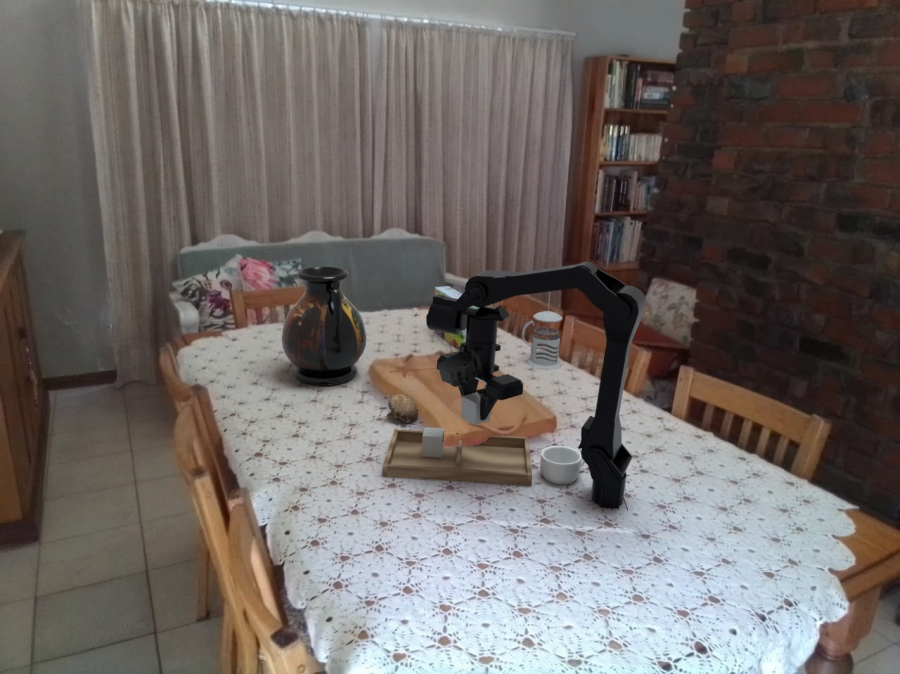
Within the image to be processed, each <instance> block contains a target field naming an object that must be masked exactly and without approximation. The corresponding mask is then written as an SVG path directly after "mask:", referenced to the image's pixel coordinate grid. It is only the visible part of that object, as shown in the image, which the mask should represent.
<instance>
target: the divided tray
mask: <svg viewBox="0 0 900 674" xmlns="http://www.w3.org/2000/svg"><path fill="white" fill-rule="evenodd" d="M423 432H424V430H411V429H398V428H397V429H395V428H394V430H393V434H392V436H391V440H390V442H389V445H388V449H387V451H386V455H385V458H384V461H383V463H382V477H383V478H395V479H396V478H398V479H399V478H400V479H411V480H412V479H413V480H427V481H428V480H429V481H444V482H445V481H446V482H458V483H459V482H463V483H477V484H478V483H479V484H493V485H506V486H507V485H509V486H524V487H525V486H526V487H527V486H528V487H532V486H533V467H532V459H531V449H530V447H531V446H530V439H529V437H528V436H513V435H500V436H490V437H489V438H488V439H487V440H486V441H485V442H482V443H481V444H479V445H473V446H462V440H458V447H453V448H444V447H443V454H442V458H441V457H425V456H422V436H423Z"/></svg>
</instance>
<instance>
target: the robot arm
mask: <svg viewBox="0 0 900 674" xmlns="http://www.w3.org/2000/svg"><path fill="white" fill-rule="evenodd" d="M574 289H577V290H579V291H580V292H581V293H582V294H584V296H585V297H586V298H587V299H588V300H589V301H590V302H591V304H592V305H593V306H594V307H596V308H597V309H599V311H601V312H602V313H603V314H602V315H603V316H602V317H603V331H604V335H605V350H604V355H603V363H602V368H601V375H600V381H599V387H598V394H597V399H596V406H595V412H594V416H593V415H590V416H589V417H588V418H587V419H586V421H585V422H584V424H583V425H582V426H581V429H580V444H579V445H578V446H577V450H580V453H581V457H582V461H583V460H584V461H585V464H586V465H587V466H588V471H589V474H590V477H591V480H592V484H591V485H592V487H591V494H590V499H591V500H592V501H593V503H595V504H596V505H597V506H599V508H601V509H611V510H612V509H613V510H619V509H620V506H622V505H623V504H624V505H625V508H626V511H627V512H628V511H629V509H628V506H627V503H626V499H625V492H626V491H625V490H626V483H627V482H626V481H627V470H628V467H629V465H630V464H631V461H632V460H633V455H632V454H631V453H630V451H629V450H628V449H627V448H626V447H625V445H624V444H623V442H622V441H623V440H622V438H623V437H622V435H623V434H622V433H623V432H622V424H621V420H620V410H621V407H622V400H623V394H624V389H625V381H626V377H627V371H628V367H629V365H628V363H629V358H630V351H631V348H632V347H631V346H632V342H633V339H634V337H635V335H636V332H637V330H638V328H639V325H640V323H641V320H642V318H643V316H644V312H645V310H646V308H647V307H646V306H647V298H646V295H645V294H644V292H643V291H642V290H641V289H639V287H636V286H634V285H627V284H625V283H624V282H623V281H622V280H620V279H619V278H617V277H615V276H614V275H611V274H610V273H608V272H605V271H604V270H602V269H600V268H599V267H598V266H597V265H595V264H594V263H592V262H589V261H583V262H580V263H577V264H571V265H565V266H557V267H556V266H555V267H551V268H543V269H536V270H529V271H522V272H516V271H515V272H514V271H509V270H499V269H498V270H495V269H491V270H490V269H487V270H484V271H481V272H480V273H479V274H476V275H473V276H471V277H469V278H468V279H467V281H466V283H465V286H464V292H462V295H461V296H460V297H459V298H458V299H456V298H450V297H446V296H444V295H439V294H438V295H436V296H435V295H434V296H432V302H431V304H430V305H429V308H428V312H427V314H426V315H425V316H426V317H425V321H426V322H425V323H426V326H427V328H428V329H429V330H431V331H434V332H435V331H440V332H445V333H450V334H455V335H458V334H459V333H460V332H461V331H464V330H465V329H466V342H464V343H461V345H460V346H459V350H458V351H454V352H449V353H445V354H440V356H439V357H438V359H437V360H436V369H437V371H438V372H439V375H440V378H441V381H442V382H443V383H444V382H445V383H447V384H449V385H450V386H452V387H454V388H458V390H459V393H460V396H461V398H462V396H465V395H469V394H473V393H476V392H477V393H478V394H479V396H480V420H482V421H483V420H485V419H486V418H487V417H488V415H489V413H490V412H491V413H492V410H493V408H494V407H495V405H496V403H497V402H498V401H505V400H509V399H511V398H514V397H519V396H521V395H523V394H524V382H523V381H522V380H521V379H519V378H517V377H516V376H513V375H511V374H509V373H506V374H502V375H497V376H496V375H494V373H496V372H499V371H500V365H498V364H495V363H496V352H499V351H501V347H502V345H500V344H498V343H497V340H498V325H499V322H504V321H506V320H507V319H509V318H510V317H511V314H510V313H509V312H508V311H507V310H506V309H505V308H504V306H503V305H502V304H500V305H498V306H496V307H489V306H491V305H494V304H498V303H499V302H503V301H505V300H508V299H512V298H513V297H517V296H524V295H525V296H526V295H534V294H541V293H548V292H550V293H551V292H557V291H564V290H574ZM471 306H475V307H478V309H473V308H469V307H471ZM466 327H467V328H466ZM480 382H483V383H484V385H483V388H480V389H478V386H479V383H480Z"/></svg>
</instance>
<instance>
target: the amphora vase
mask: <svg viewBox="0 0 900 674" xmlns="http://www.w3.org/2000/svg"><path fill="white" fill-rule="evenodd" d="M349 275H350V274H349V271H348V270H346V269H344V268H340V267H334V266H333V267H332V266H312V267H311V266H310V267H306V268H302V269H299V270H298V271H297V273H296V277H297V278H298V279H299V280H301V281H304V285H305V291H304V293H303V295H302V296H301V297H300V298H299V300H297V301H296V302H295V304H294V305H293V306H292V307H291V308H290V310H289V311H288V313H287V315H286V317H285V321H284V324H283V328H282V334H281V344H282V349H283V352H284V355H285V356H286V358H287V359H288V360H289V361H290V363H292V364H293V365H294V368H293V370H292V371H293V376H294V378H295V379H296V380H298V381H300V382H302V383H305V384H307V385H314V386H333V385H338V384H339V385H340V384H342V383H346V382H347V381H349V380H351V379H353V378H354V377H355V376H356V374H357V372H358V370H357V365H356V363H358V361H359V360H360V358H361V357H362V355H363V354H364V352H365V349H366V347H367V333H366V328H365V323H364V320H363V318H362V315H361V314H360V311H359V310H358V309H357V307H356V306H355V305H354V304H353V303H352V302H351V301H350V300H349V299H348V298H347V297H346V296H345V294H344V293H343V291H342V289H341V284H342V281H344V280H346V279H348V278H349V277H350V276H349Z"/></svg>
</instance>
